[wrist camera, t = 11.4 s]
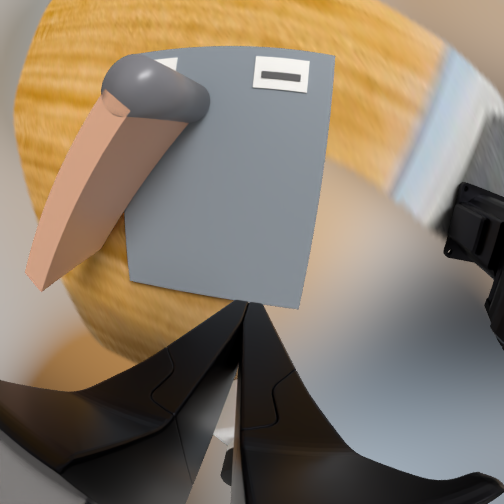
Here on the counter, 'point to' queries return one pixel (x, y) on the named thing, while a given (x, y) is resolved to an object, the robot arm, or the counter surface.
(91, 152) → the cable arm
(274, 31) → the counter surface
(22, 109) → the counter surface
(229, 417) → the medicine bottle
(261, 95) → the label board
